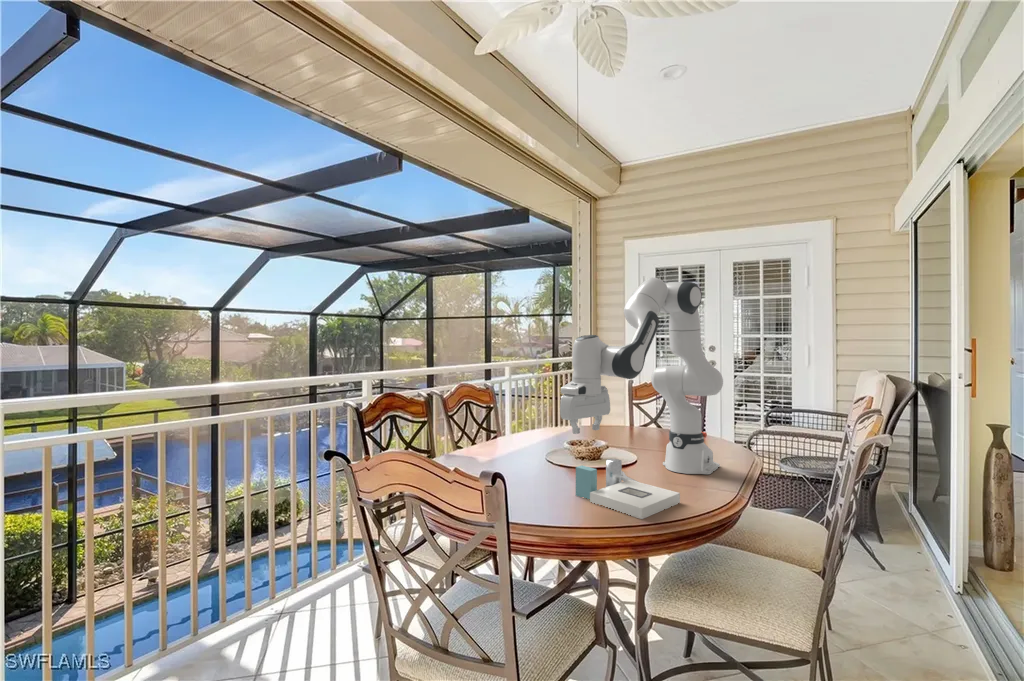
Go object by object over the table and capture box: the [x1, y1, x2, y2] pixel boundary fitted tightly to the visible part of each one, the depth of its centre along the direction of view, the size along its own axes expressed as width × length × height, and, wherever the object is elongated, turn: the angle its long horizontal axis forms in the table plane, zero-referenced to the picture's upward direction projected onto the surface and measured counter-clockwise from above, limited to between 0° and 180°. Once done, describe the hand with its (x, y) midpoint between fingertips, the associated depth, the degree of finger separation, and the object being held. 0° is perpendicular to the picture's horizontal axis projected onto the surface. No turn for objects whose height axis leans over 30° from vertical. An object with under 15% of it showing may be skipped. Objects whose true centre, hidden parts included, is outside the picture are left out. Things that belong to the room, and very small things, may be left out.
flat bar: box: [575, 464, 598, 500], centre depth 149 cm, size 3×6×9 cm, turn 41°
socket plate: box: [589, 480, 681, 520], centre depth 144 cm, size 20×18×3 cm
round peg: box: [605, 458, 623, 487], centre depth 158 cm, size 5×5×9 cm
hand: (586, 431), depth 149 cm, fingers open, 8 cm apart
